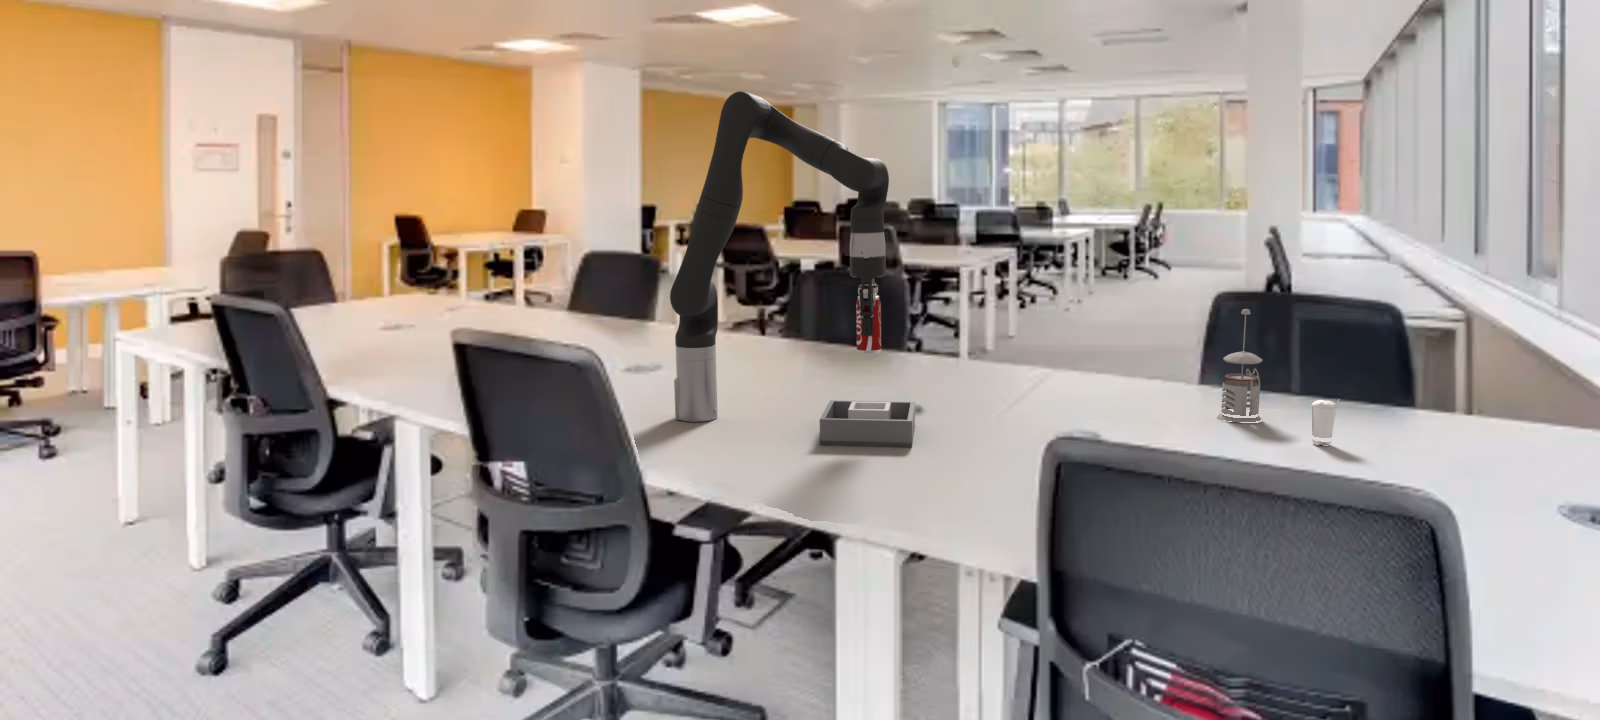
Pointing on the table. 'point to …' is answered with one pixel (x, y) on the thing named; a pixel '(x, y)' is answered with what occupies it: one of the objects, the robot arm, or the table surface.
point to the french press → (1241, 386)
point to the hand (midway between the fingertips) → (868, 333)
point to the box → (868, 423)
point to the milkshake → (1323, 420)
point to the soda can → (873, 342)
